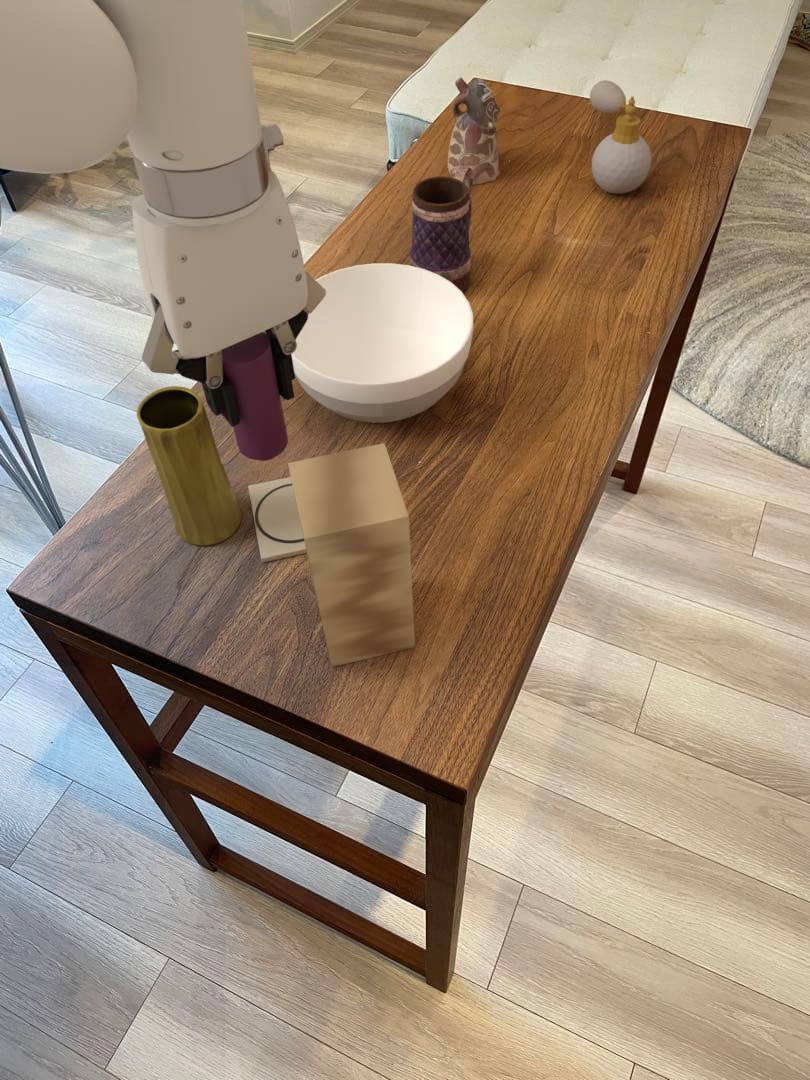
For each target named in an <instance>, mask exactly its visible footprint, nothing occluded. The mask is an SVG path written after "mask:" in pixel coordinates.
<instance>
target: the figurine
mask: <svg viewBox="0 0 810 1080" xmlns="http://www.w3.org/2000/svg"><path fill="white" fill-rule="evenodd" d="M454 83H455V84H454V85H455V87H456V88H457V90H458V92H459V94H458V95H457V96H456V98H455V99H454V102H453V104H452V105H453V106H452V114H453V117H454V126H453V129H452V132H451V137H450V140H449V145H448V154H447V171H448V174H449V177H451V173H452V171H453V169H454V167H455V166H456V164H467V165H468V166H469V167H470V168H471V169H472V173H473V186H474V185H475V186H476V185H481V184H485V183H489V182H493V181H496V180H497V178H498V176H500V174H501V170H500V151H499V146H498V134H497V128H496V125H497V122H498V120H497V119H498V118H499V113H500V112H501V109H500V107H499V105H498V104H497V103H496V99H495V94H494V91H493V89H491V87H490V85H489V84H488V83H487V82H486V81H485V80H483V79H482V78H475V79H474V80H472V82H471V84H470V85H469V84H467V82H466V81H465V80H464V79H463V77H458V78H457V79H456V80H455V82H454ZM463 104H464V105H465V106H466V108H467V109H466V110H465V111H462V110H461V109H460V108H459V107H460V105H463Z"/></svg>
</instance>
